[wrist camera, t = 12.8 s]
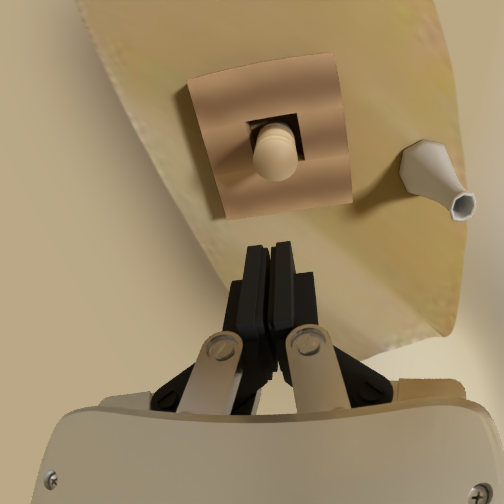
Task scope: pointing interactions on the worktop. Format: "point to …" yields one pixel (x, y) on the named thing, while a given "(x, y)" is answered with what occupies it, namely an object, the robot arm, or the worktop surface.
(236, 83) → the board
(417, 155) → the flask
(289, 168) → the peg
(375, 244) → the worktop surface
